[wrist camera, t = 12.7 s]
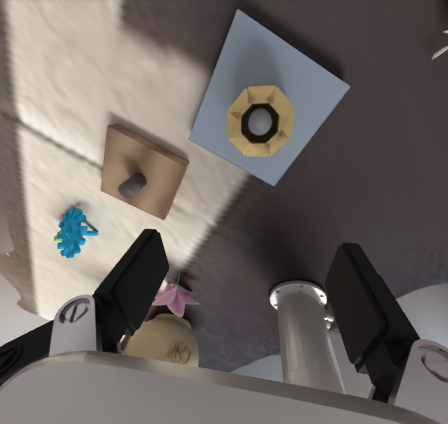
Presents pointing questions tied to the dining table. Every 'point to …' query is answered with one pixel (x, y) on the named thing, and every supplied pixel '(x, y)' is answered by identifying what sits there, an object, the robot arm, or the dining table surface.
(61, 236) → the gear
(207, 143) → the hub plate
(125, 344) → the pitcher
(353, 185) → the dining table surface
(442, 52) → the flower
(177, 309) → the lily
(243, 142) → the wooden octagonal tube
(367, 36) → the dining table surface
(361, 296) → the robot arm
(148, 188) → the rod stand
